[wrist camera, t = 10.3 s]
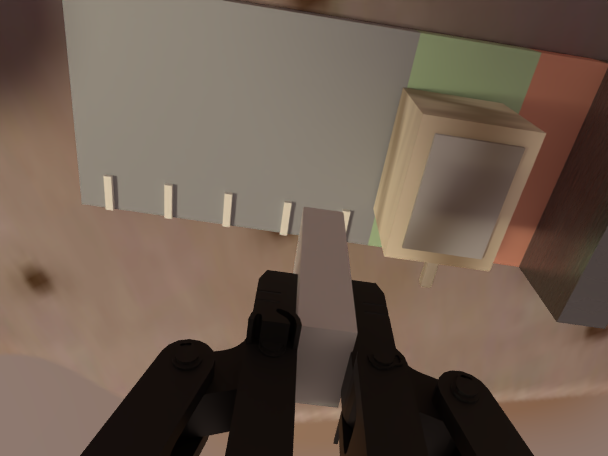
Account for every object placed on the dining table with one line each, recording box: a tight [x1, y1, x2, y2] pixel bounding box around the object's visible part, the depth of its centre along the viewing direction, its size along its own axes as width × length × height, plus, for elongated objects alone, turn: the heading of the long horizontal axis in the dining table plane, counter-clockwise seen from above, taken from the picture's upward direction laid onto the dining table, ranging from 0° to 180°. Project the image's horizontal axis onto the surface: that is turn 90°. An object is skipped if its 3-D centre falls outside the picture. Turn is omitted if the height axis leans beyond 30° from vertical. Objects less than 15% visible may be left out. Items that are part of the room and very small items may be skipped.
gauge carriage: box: [373, 88, 546, 288], centre depth 27 cm, size 6×10×6 cm, turn 172°
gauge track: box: [62, 0, 608, 267], centre depth 30 cm, size 31×14×2 cm, turn 82°
